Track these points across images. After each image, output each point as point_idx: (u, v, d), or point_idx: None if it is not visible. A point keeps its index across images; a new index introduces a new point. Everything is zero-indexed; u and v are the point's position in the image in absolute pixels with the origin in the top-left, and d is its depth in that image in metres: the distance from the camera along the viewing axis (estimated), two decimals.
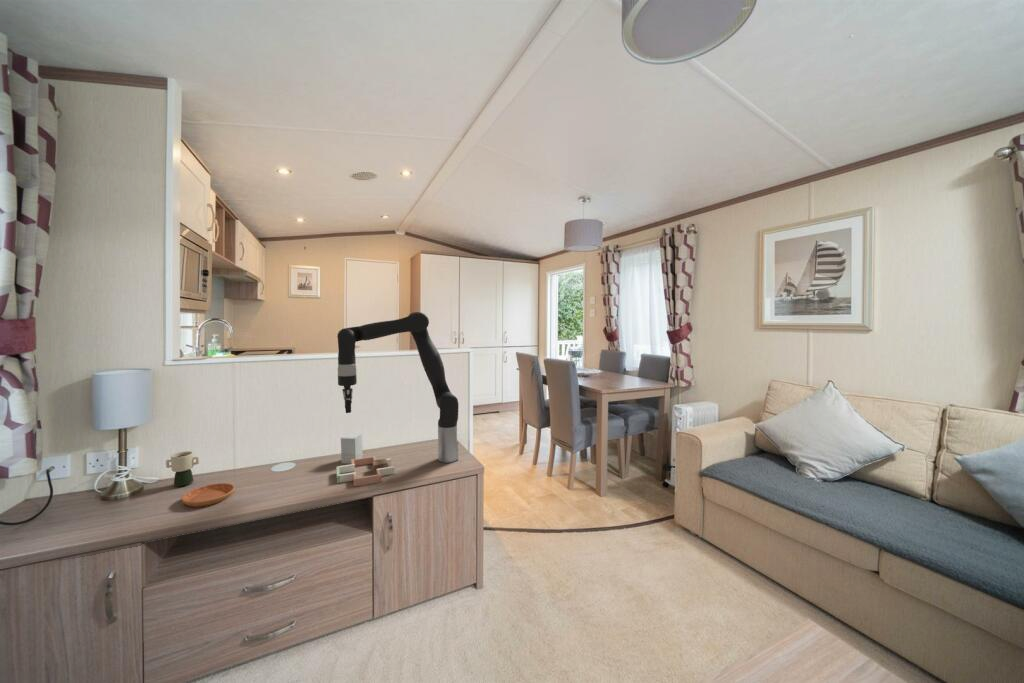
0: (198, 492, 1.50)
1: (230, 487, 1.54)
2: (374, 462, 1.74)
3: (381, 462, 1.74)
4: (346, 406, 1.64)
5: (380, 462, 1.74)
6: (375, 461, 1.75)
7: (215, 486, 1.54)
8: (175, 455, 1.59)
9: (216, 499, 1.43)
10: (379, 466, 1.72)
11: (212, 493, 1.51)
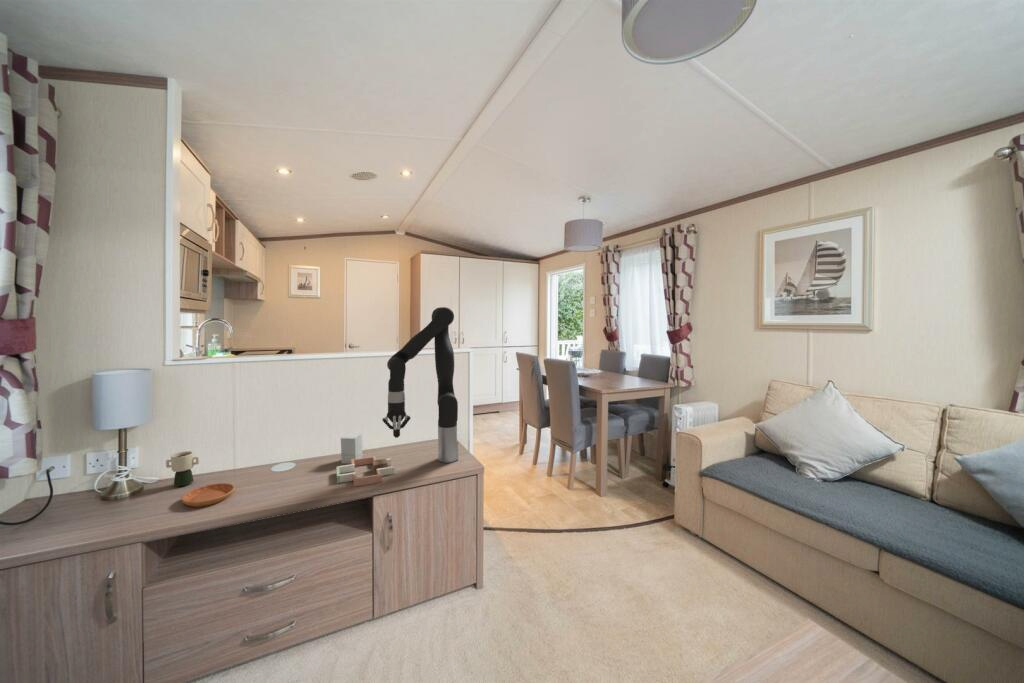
0: (198, 492, 1.50)
1: (230, 487, 1.54)
2: (374, 462, 1.74)
3: (381, 462, 1.74)
4: None
5: (380, 462, 1.74)
6: (375, 461, 1.75)
7: (215, 486, 1.54)
8: (175, 455, 1.59)
9: (216, 499, 1.43)
10: (379, 466, 1.72)
11: (212, 493, 1.51)
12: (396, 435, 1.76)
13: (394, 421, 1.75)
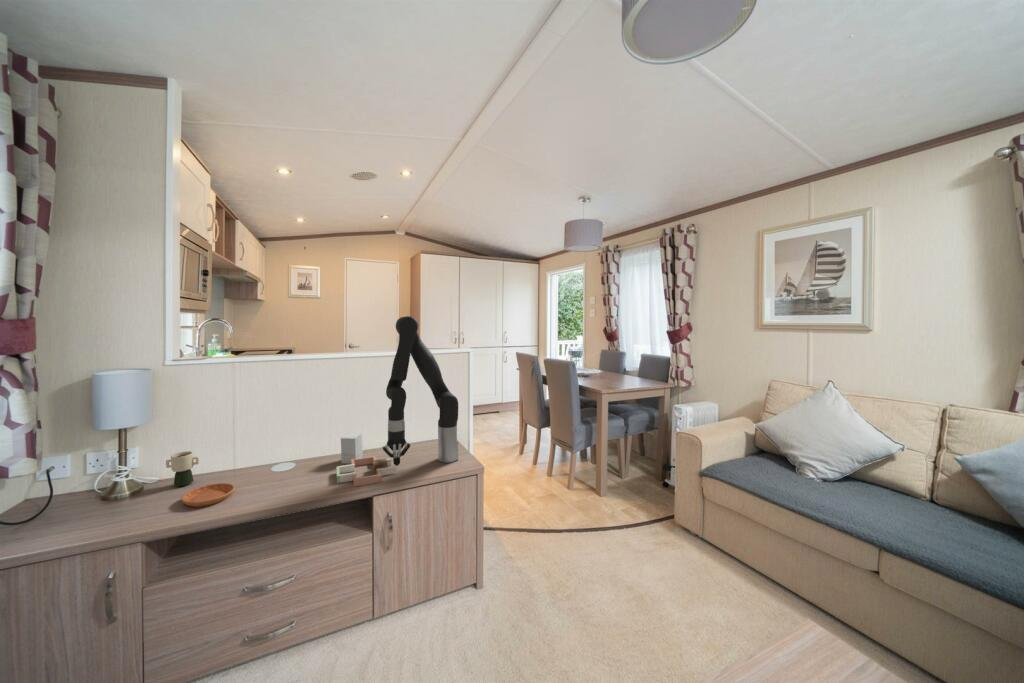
0: (198, 492, 1.50)
1: (230, 487, 1.54)
2: (374, 462, 1.74)
3: (381, 463, 1.74)
4: None
5: (380, 462, 1.74)
6: (375, 461, 1.75)
7: (215, 486, 1.54)
8: (175, 455, 1.59)
9: (216, 499, 1.43)
10: (379, 466, 1.72)
11: (212, 493, 1.51)
12: (396, 463, 1.77)
13: (394, 449, 1.76)
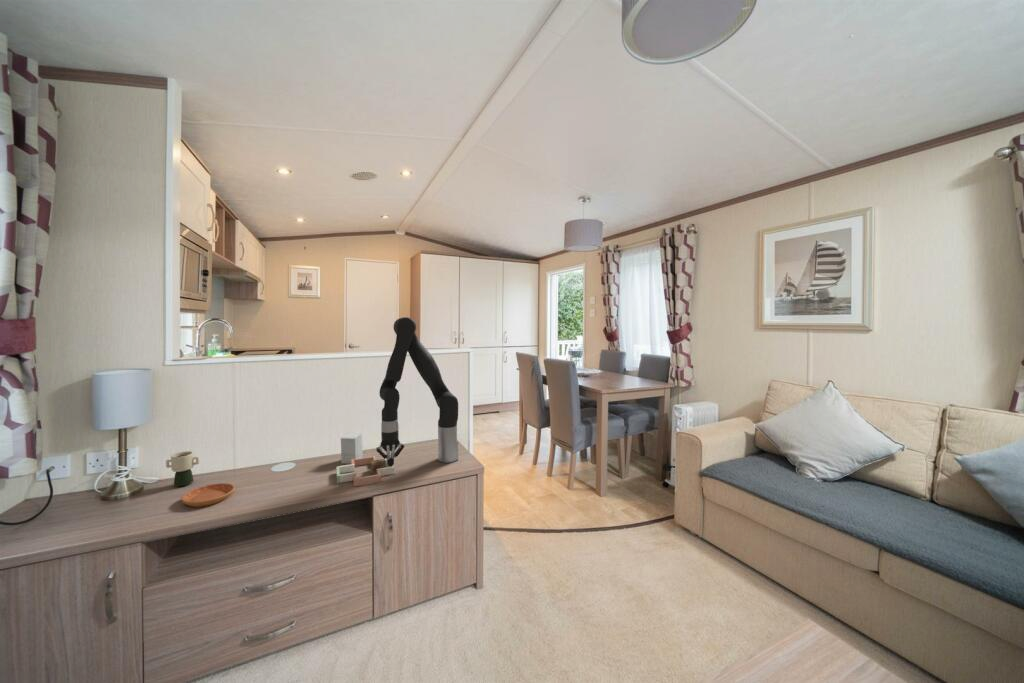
0: (198, 492, 1.50)
1: (230, 487, 1.54)
2: (373, 462, 1.74)
3: (379, 463, 1.73)
4: (392, 460, 1.77)
5: (379, 462, 1.74)
6: (374, 461, 1.75)
7: (215, 486, 1.54)
8: (175, 455, 1.59)
9: (216, 499, 1.43)
10: (377, 466, 1.72)
11: (212, 493, 1.51)
12: (390, 464, 1.76)
13: (388, 450, 1.75)
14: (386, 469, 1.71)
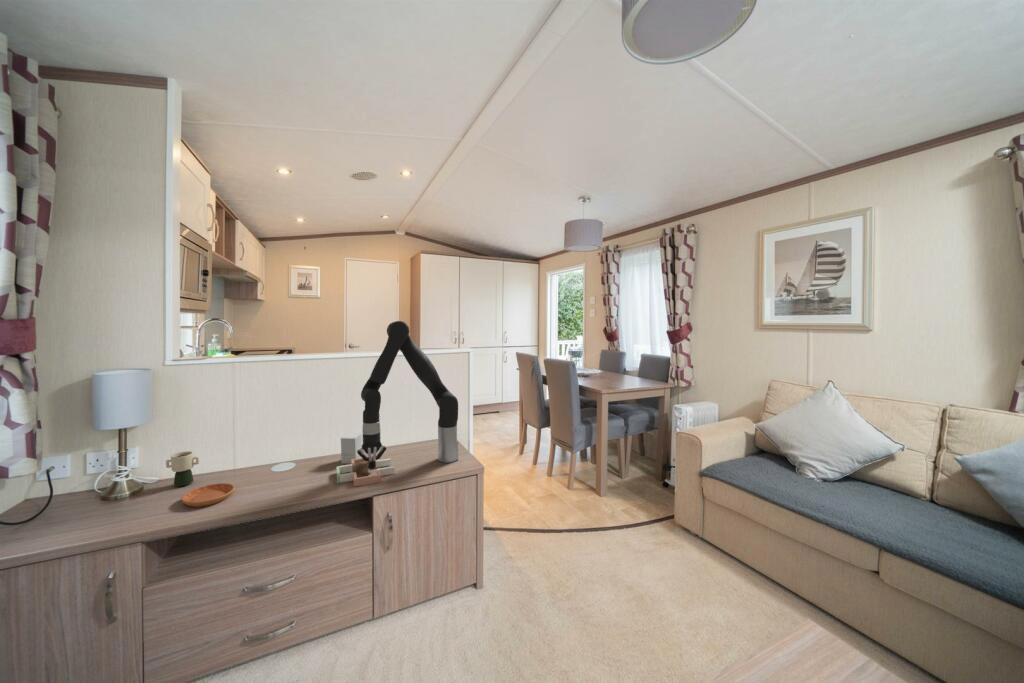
0: (198, 492, 1.50)
1: (230, 487, 1.54)
2: (354, 465, 1.70)
3: (361, 465, 1.70)
4: (374, 462, 1.73)
5: (360, 465, 1.70)
6: (355, 464, 1.71)
7: (215, 486, 1.54)
8: (175, 455, 1.59)
9: (216, 499, 1.43)
10: (359, 469, 1.68)
11: (212, 493, 1.51)
12: (372, 467, 1.73)
13: (369, 453, 1.71)
14: (386, 469, 1.71)
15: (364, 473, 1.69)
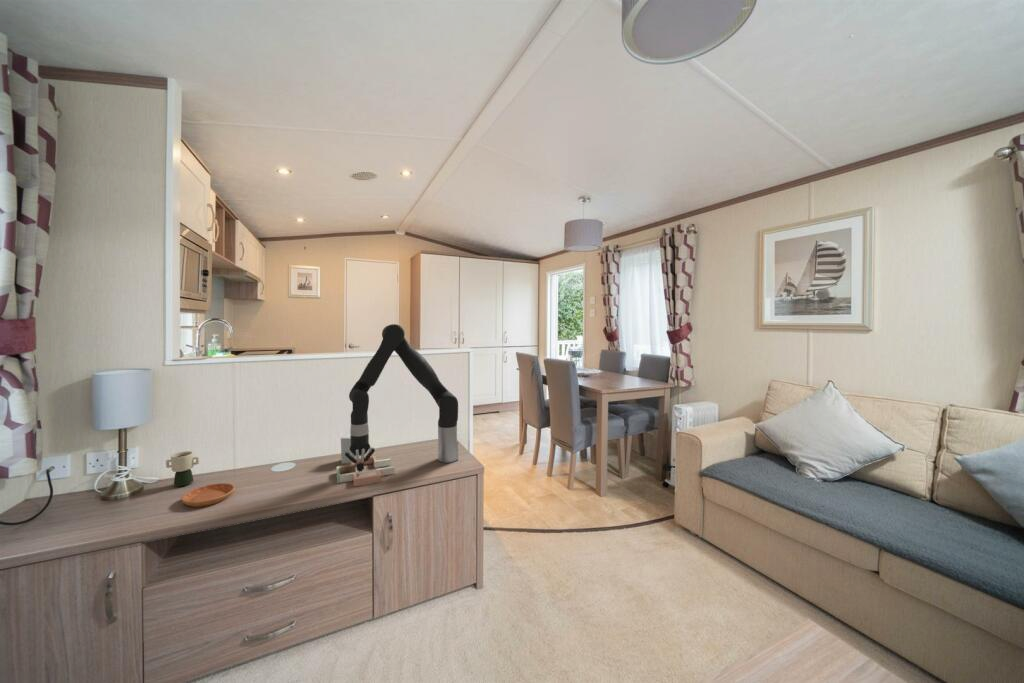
0: (198, 492, 1.50)
1: (230, 487, 1.54)
2: (341, 467, 1.68)
3: (348, 468, 1.68)
4: (362, 464, 1.71)
5: (348, 467, 1.68)
6: (343, 466, 1.69)
7: (215, 486, 1.54)
8: (175, 455, 1.59)
9: (216, 499, 1.43)
10: (346, 471, 1.66)
11: (212, 493, 1.51)
12: (360, 469, 1.70)
13: (357, 455, 1.69)
14: (386, 469, 1.71)
15: None
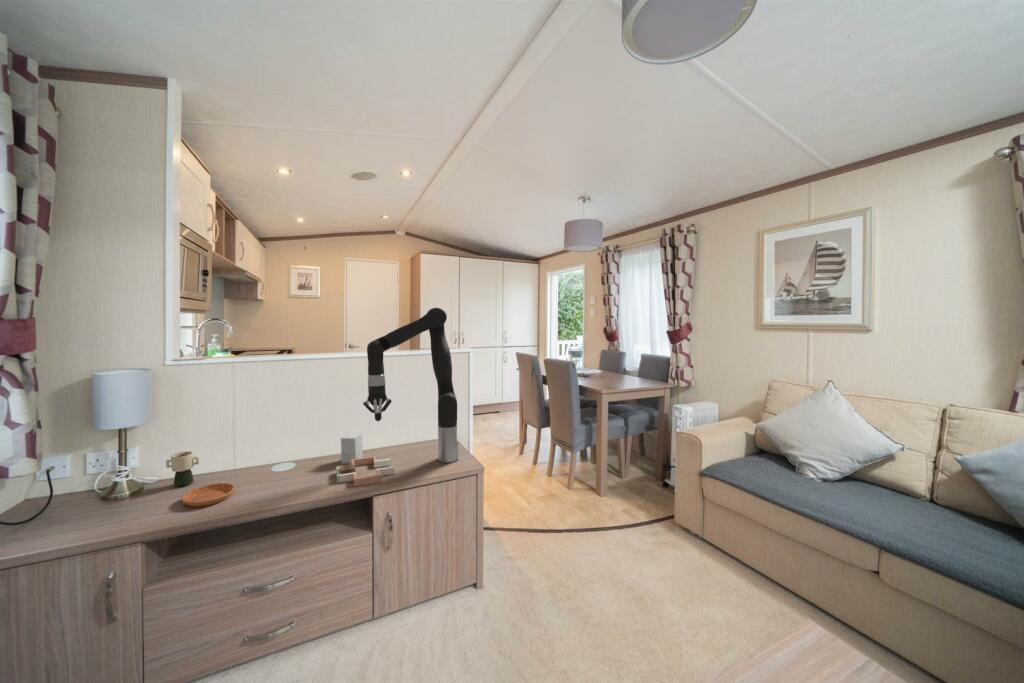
0: (198, 492, 1.50)
1: (230, 487, 1.54)
2: (341, 467, 1.68)
3: (348, 468, 1.68)
4: (379, 414, 1.78)
5: (347, 467, 1.68)
6: (342, 466, 1.69)
7: (215, 486, 1.54)
8: (175, 455, 1.59)
9: (216, 499, 1.43)
10: (346, 471, 1.66)
11: (212, 493, 1.51)
12: (378, 418, 1.77)
13: (375, 404, 1.75)
14: (386, 469, 1.71)
15: None
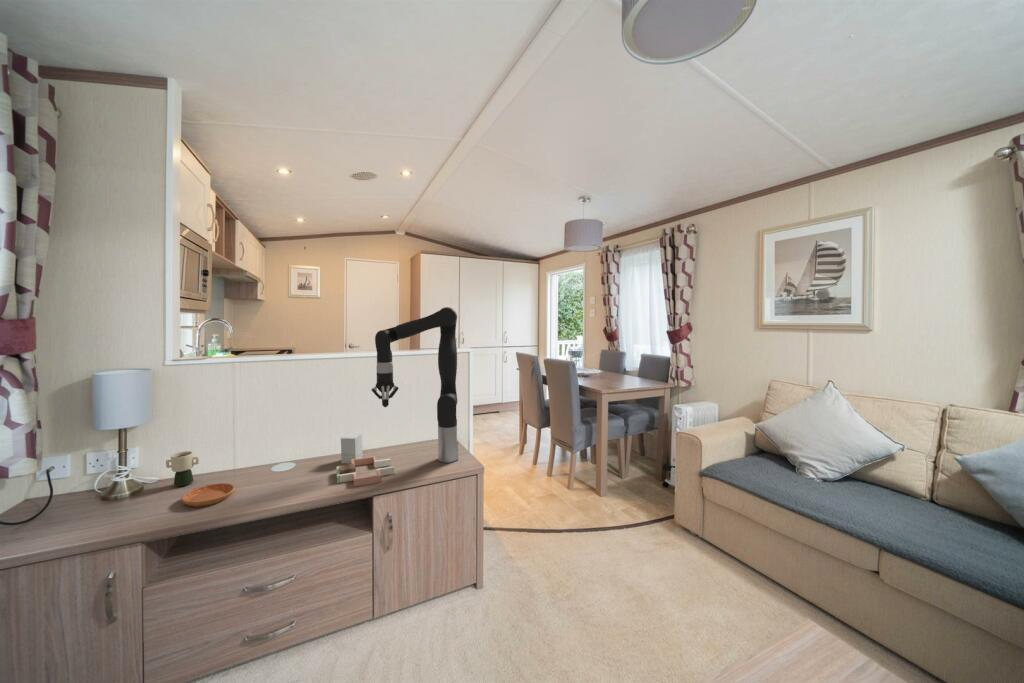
0: (198, 492, 1.50)
1: (230, 487, 1.54)
2: (341, 467, 1.68)
3: (348, 468, 1.68)
4: (387, 401, 1.85)
5: (347, 467, 1.68)
6: (342, 466, 1.69)
7: (215, 486, 1.54)
8: (175, 455, 1.59)
9: (216, 499, 1.43)
10: (346, 471, 1.66)
11: (212, 493, 1.51)
12: (385, 404, 1.84)
13: (383, 391, 1.82)
14: (386, 469, 1.71)
15: None
